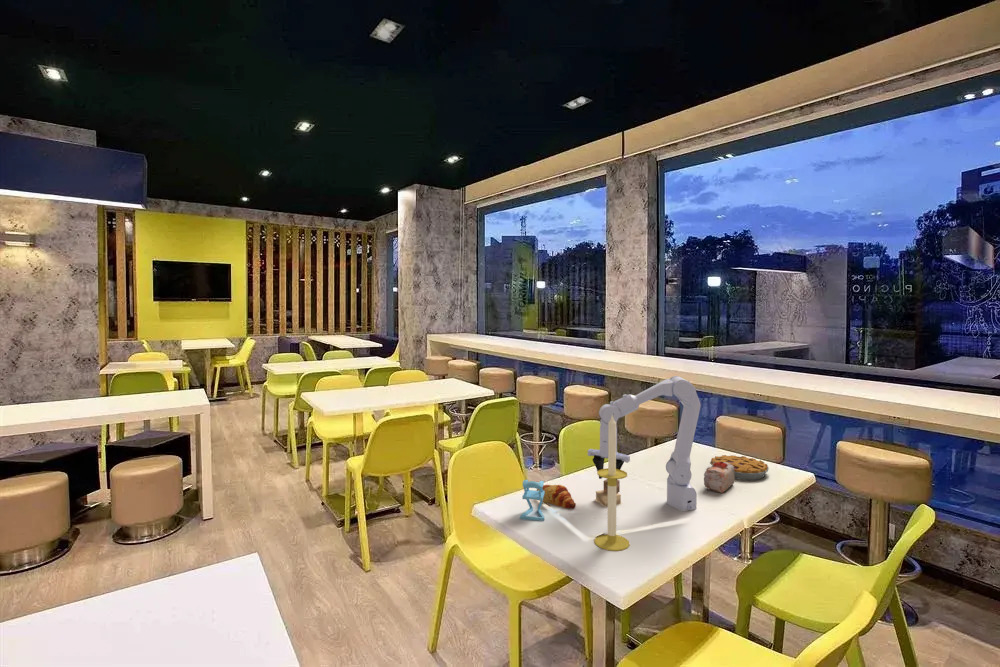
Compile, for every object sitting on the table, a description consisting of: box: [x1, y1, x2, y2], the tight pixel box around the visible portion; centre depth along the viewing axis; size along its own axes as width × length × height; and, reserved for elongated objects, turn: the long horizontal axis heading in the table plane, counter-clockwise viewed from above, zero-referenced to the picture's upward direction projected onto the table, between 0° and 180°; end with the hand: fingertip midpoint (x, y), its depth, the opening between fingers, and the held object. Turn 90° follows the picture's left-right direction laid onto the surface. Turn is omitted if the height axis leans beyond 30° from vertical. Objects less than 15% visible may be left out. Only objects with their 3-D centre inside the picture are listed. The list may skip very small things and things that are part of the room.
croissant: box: [536, 484, 577, 510], centre depth 174 cm, size 21×10×8 cm, turn 31°
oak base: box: [595, 489, 622, 507], centre depth 171 cm, size 6×6×3 cm
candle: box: [593, 414, 630, 552], centre depth 143 cm, size 10×10×38 cm
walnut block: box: [603, 478, 621, 494], centre depth 172 cm, size 4×4×4 cm
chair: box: [519, 479, 545, 522], centre depth 164 cm, size 8×8×12 cm
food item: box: [703, 461, 736, 494], centre depth 188 cm, size 14×8×10 cm, turn 139°
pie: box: [709, 454, 770, 481], centre depth 205 cm, size 22×22×5 cm
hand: (608, 479), depth 171 cm, fingers open, 5 cm apart
